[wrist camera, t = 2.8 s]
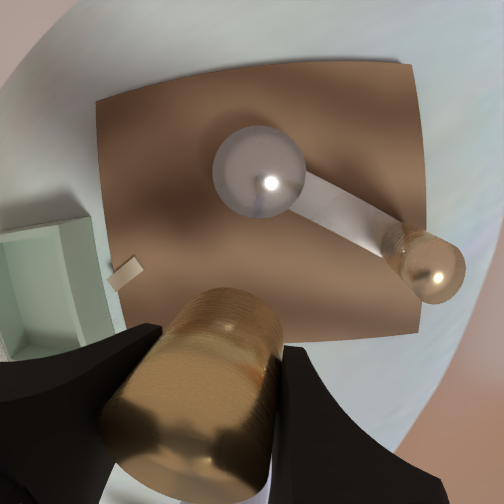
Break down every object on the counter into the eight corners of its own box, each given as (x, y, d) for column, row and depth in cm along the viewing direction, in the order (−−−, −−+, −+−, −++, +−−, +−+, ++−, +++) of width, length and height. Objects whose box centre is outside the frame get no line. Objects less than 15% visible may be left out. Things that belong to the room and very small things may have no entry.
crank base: (413, 325, 18) (419, 334, 17) (129, 332, 21) (121, 340, 20) (406, 69, 15) (412, 63, 13) (97, 106, 18) (87, 103, 16)
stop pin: (286, 380, 12) (272, 510, 6) (187, 378, 12) (129, 489, 6) (280, 285, 11) (262, 403, 5) (169, 288, 11) (73, 381, 6)
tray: (122, 361, 22) (101, 386, 19) (31, 346, 24) (9, 363, 20) (90, 216, 19) (58, 224, 16) (1, 231, 21) (-27, 239, 18)
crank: (207, 192, 17) (162, 202, 11) (242, 118, 16) (212, 88, 10) (392, 283, 17) (431, 334, 11) (428, 215, 15) (486, 237, 10)
